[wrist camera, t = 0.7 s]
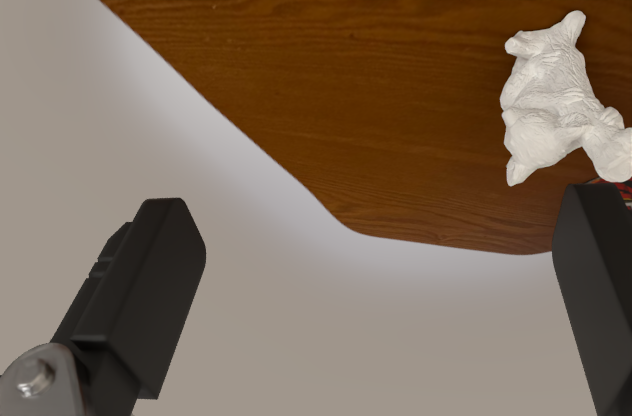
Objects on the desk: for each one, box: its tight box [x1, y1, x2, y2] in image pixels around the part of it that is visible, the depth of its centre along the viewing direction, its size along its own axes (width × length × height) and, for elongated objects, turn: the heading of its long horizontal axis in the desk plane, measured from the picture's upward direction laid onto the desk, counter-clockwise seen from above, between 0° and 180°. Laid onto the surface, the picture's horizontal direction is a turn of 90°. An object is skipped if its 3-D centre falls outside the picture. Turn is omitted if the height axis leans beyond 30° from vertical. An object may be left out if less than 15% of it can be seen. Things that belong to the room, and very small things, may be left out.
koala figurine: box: [500, 10, 632, 186], centre depth 30 cm, size 8×7×12 cm
